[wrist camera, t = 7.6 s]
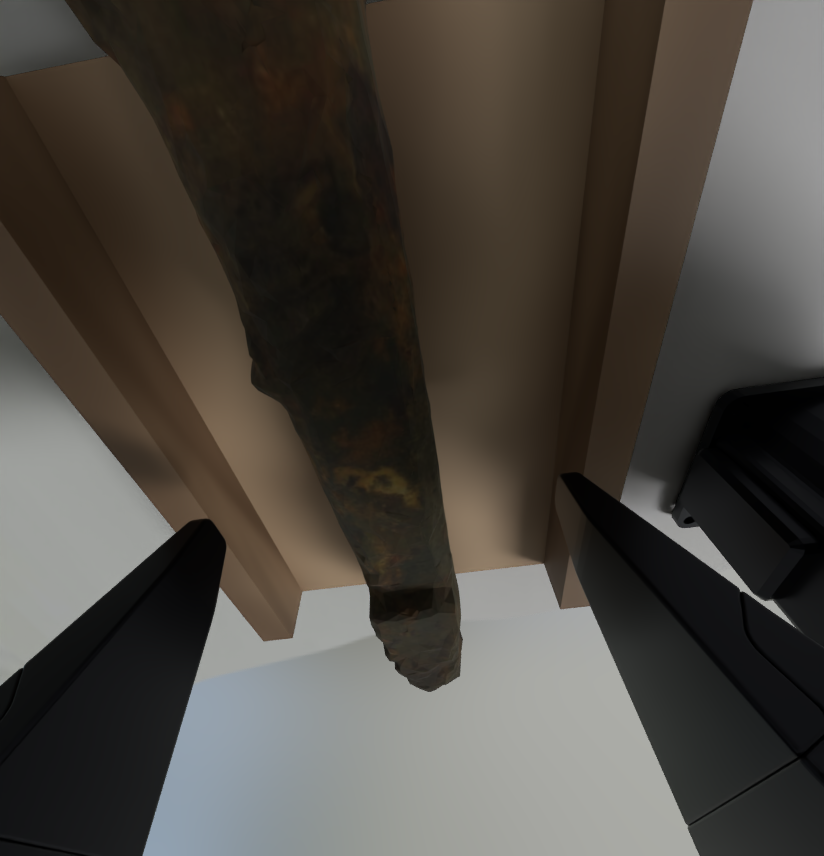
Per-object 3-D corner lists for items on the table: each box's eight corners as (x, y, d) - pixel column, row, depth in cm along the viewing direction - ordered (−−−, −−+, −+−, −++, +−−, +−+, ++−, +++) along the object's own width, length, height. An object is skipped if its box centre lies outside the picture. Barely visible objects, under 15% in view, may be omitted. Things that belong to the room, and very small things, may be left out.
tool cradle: (651, -36, 7) (788, -133, 5) (564, 540, 17) (591, 605, 15) (-10, 94, 8) (-196, 71, 5) (281, 574, 18) (263, 641, 15)
